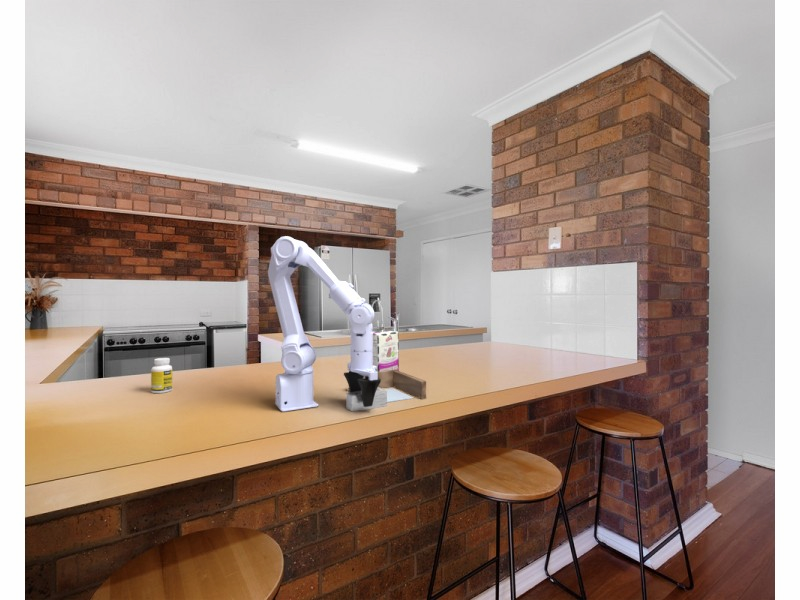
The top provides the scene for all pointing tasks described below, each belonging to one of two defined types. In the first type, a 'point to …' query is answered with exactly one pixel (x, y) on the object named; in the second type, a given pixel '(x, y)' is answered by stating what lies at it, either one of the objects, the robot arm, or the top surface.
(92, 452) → the top surface
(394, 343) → the candy bar box
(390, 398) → the pad
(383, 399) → the grey speckled block
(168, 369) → the supplement bottle
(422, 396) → the corner fence
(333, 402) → the top surface
